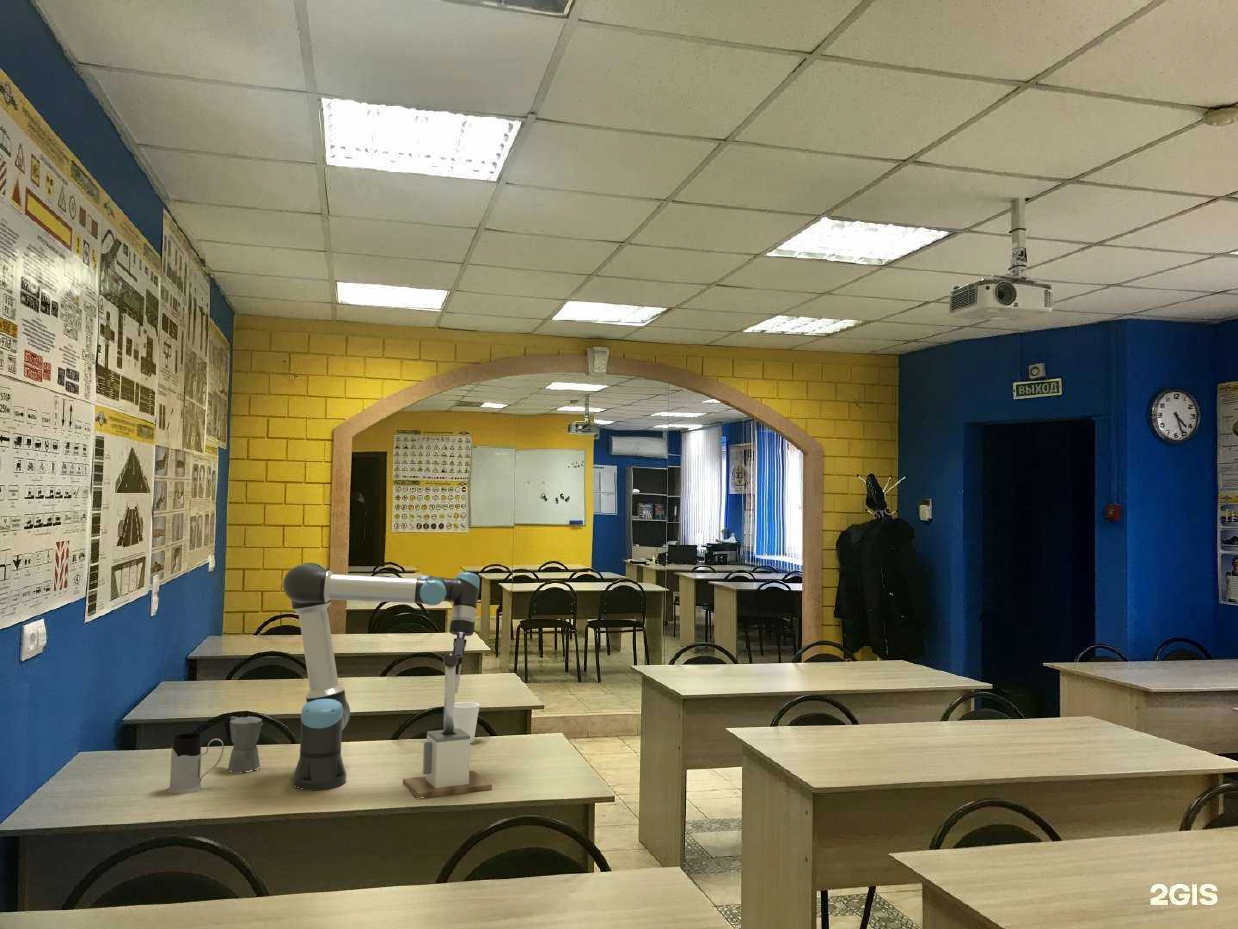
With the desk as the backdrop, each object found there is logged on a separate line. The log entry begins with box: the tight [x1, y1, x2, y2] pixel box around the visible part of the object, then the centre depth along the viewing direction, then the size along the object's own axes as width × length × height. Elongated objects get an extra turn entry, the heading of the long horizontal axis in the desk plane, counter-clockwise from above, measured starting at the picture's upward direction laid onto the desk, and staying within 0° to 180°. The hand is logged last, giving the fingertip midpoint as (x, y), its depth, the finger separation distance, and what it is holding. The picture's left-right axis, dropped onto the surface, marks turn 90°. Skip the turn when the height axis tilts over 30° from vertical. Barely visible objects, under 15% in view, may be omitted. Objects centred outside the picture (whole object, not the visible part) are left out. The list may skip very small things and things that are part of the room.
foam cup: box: [454, 701, 480, 744], centre depth 325 cm, size 10×9×13 cm
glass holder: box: [167, 732, 225, 795], centre depth 266 cm, size 9×14×15 cm, turn 111°
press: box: [422, 728, 471, 788], centre depth 271 cm, size 12×10×14 cm
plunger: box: [442, 652, 458, 736], centre depth 273 cm, size 7×7×26 cm
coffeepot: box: [223, 710, 264, 773], centre depth 286 cm, size 15×9×18 cm, turn 67°
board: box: [402, 770, 493, 799], centre depth 272 cm, size 22×16×2 cm
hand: (453, 689), depth 283 cm, fingers open, 13 cm apart
